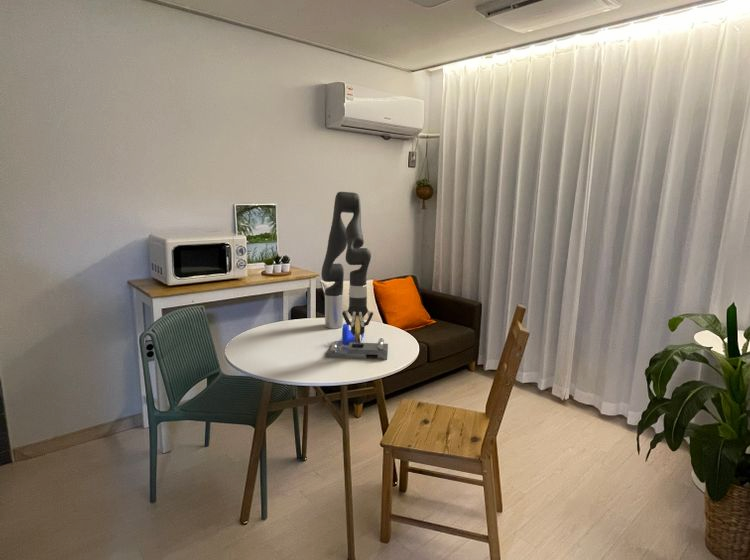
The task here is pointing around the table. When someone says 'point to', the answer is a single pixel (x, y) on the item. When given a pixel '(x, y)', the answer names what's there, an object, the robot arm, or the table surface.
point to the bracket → (348, 335)
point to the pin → (357, 329)
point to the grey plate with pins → (358, 350)
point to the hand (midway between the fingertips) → (357, 334)
